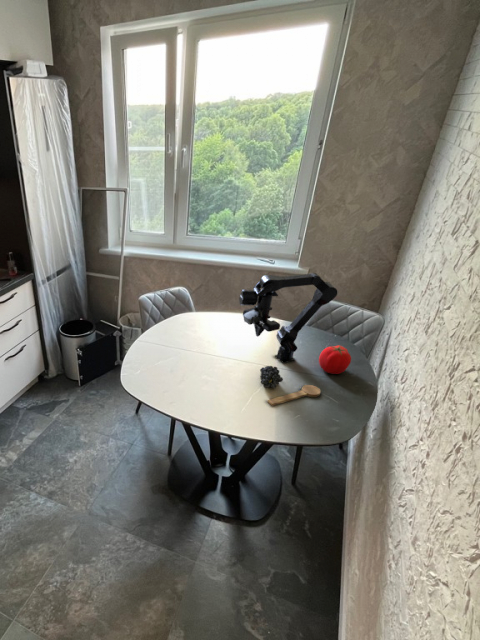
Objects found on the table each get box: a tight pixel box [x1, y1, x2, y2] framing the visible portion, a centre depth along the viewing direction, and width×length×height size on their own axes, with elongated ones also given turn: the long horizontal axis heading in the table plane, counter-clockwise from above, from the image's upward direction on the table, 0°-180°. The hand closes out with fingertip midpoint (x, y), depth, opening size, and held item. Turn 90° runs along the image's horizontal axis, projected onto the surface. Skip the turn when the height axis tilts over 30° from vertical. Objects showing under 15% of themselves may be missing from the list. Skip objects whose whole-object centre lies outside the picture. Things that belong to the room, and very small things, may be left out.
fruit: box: [259, 365, 284, 389], centre depth 172 cm, size 9×8×15 cm
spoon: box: [267, 384, 322, 407], centre depth 164 cm, size 24×7×1 cm, turn 109°
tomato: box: [318, 344, 352, 375], centre depth 176 cm, size 12×13×12 cm
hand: (257, 336), depth 183 cm, fingers closed
